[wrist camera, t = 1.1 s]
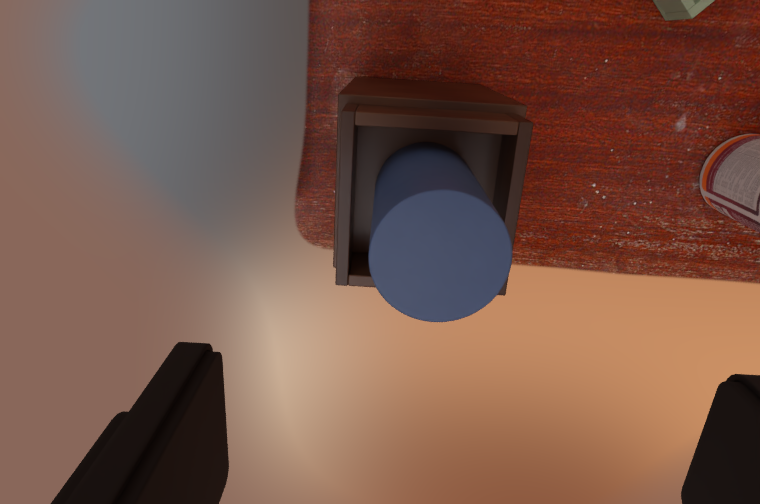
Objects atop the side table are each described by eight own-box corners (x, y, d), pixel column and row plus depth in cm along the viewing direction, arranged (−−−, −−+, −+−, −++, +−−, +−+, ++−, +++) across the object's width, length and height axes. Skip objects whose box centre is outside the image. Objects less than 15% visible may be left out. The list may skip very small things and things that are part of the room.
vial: (354, 187, 27) (338, 253, 18) (430, 120, 25) (451, 158, 17) (418, 256, 28) (430, 347, 20) (494, 196, 27) (541, 265, 18)
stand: (350, 197, 41) (326, 292, 26) (355, 76, 38) (331, 100, 22) (465, 204, 41) (512, 303, 26) (480, 84, 38) (544, 113, 22)
